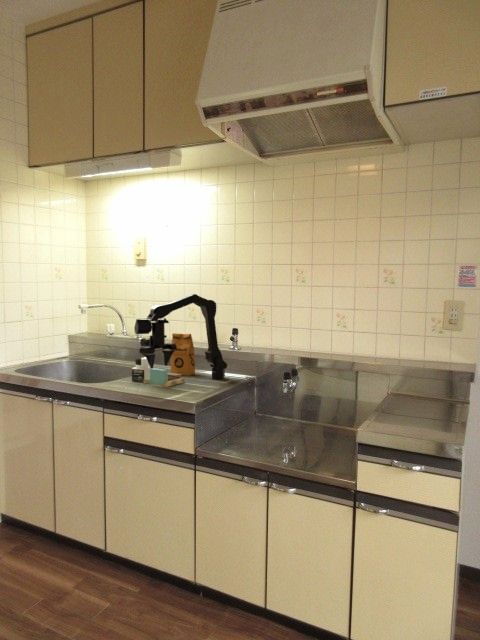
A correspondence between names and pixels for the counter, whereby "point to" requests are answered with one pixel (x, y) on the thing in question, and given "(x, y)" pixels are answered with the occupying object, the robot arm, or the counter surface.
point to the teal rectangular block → (158, 376)
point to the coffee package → (183, 355)
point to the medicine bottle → (141, 370)
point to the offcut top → (174, 376)
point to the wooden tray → (166, 384)
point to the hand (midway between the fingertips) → (158, 367)
